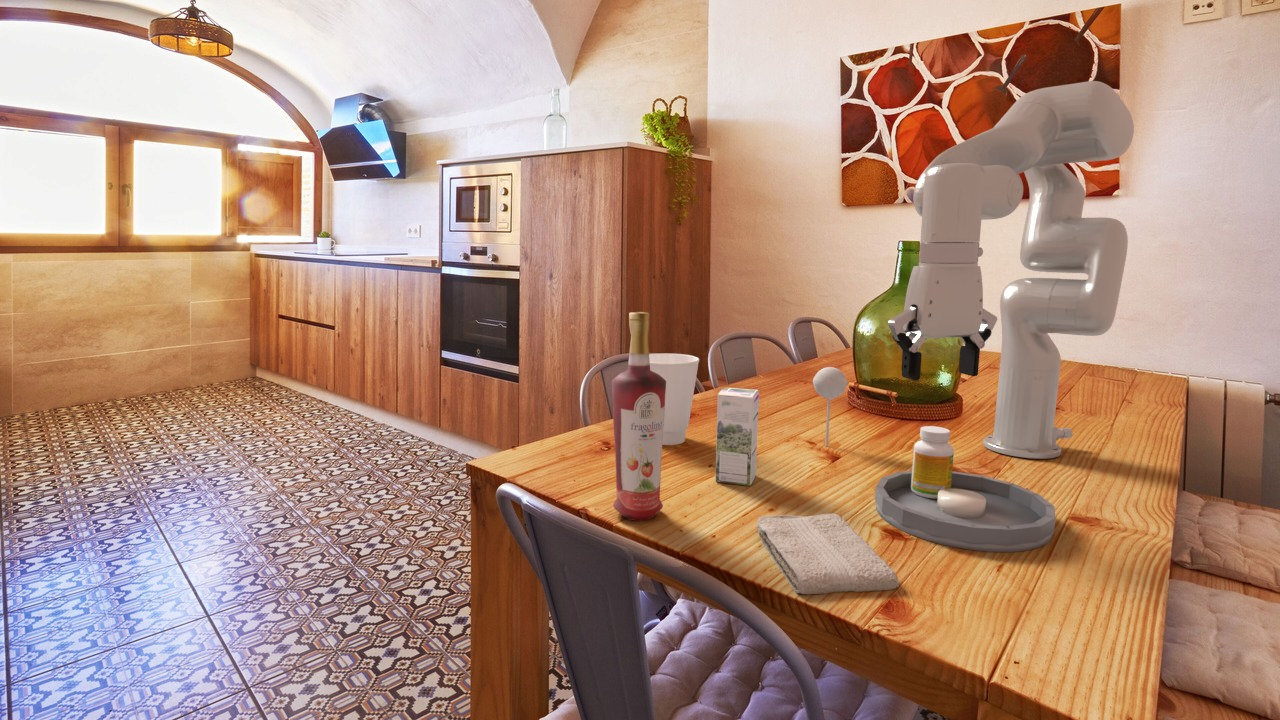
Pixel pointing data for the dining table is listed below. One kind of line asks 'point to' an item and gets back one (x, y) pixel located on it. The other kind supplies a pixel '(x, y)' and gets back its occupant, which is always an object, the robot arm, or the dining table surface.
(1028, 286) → the robot arm
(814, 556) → the washcloth
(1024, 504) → the ring tray
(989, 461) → the dining table surface
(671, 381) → the cup
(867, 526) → the dining table surface
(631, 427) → the liquor
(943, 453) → the supplement bottle
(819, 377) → the lollipop
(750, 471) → the syrup box
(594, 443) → the dining table surface
